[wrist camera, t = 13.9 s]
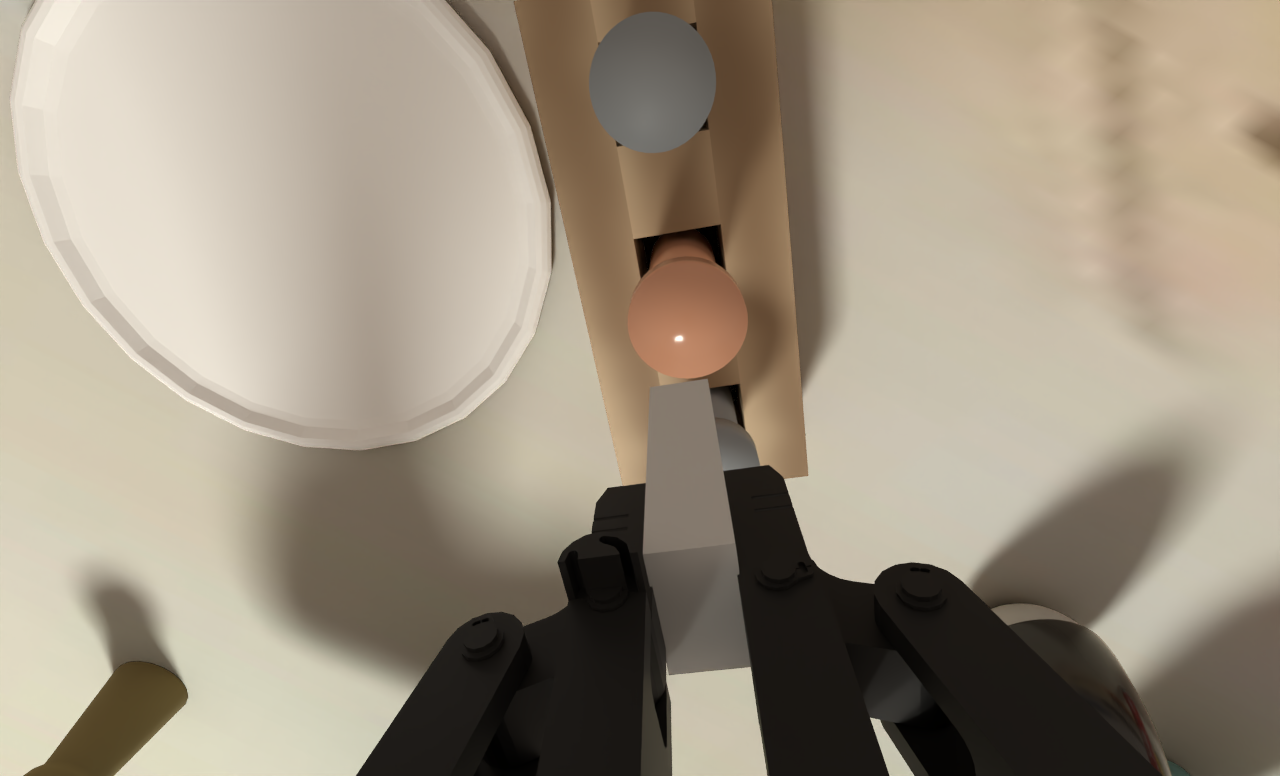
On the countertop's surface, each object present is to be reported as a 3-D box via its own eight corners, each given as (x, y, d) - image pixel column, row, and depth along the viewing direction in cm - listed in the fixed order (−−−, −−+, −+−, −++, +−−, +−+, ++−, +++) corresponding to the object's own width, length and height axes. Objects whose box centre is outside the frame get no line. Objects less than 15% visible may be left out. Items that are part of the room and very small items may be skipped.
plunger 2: (670, 417, 38) (670, 517, 29) (658, 352, 37) (655, 436, 27) (741, 407, 38) (764, 506, 29) (733, 341, 36) (755, 423, 27)
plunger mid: (646, 306, 33) (638, 386, 24) (631, 223, 31) (616, 275, 22) (729, 293, 32) (753, 369, 23) (719, 207, 31) (741, 254, 22)
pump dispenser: (904, 621, 45) (1007, 849, 32) (1044, 556, 42) (1224, 777, 29) (965, 701, 49) (1082, 939, 35) (1099, 646, 46) (1285, 883, 32)
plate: (315, 512, 44) (306, 522, 43) (-78, 148, 34) (-103, 150, 33) (657, 287, 36) (657, 293, 35) (271, -270, 26) (253, -287, 25)
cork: (98, 668, 51) (-39, 806, 41) (159, 655, 50) (34, 793, 40) (142, 717, 54) (23, 858, 44) (202, 705, 53) (93, 847, 43)
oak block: (631, 443, 40) (625, 498, 35) (541, 18, 30) (513, 1, 25) (788, 422, 39) (808, 475, 33) (749, -27, 29) (767, -55, 23)
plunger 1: (621, 144, 32) (602, 163, 23) (604, 47, 30) (576, 26, 21) (707, 127, 31) (723, 140, 22) (695, 28, 29) (707, -2, 20)
